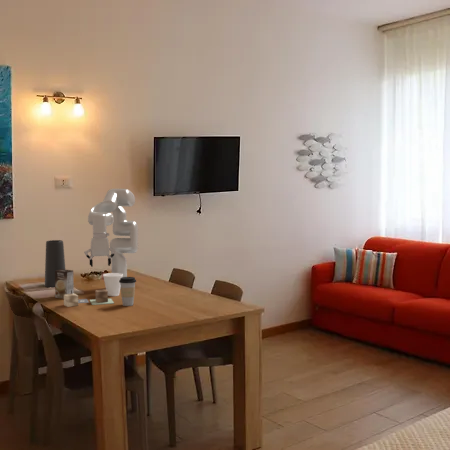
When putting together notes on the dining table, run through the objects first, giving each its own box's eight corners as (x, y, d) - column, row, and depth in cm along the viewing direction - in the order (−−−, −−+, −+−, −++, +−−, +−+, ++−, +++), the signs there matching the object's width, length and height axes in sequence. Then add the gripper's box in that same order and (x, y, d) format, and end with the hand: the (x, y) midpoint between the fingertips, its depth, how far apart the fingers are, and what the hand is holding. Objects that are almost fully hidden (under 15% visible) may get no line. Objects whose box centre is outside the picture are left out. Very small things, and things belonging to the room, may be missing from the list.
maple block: (74, 304, 337) (74, 293, 337) (78, 306, 332) (78, 295, 332) (63, 305, 334) (63, 294, 333) (67, 307, 329) (67, 296, 328)
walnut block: (106, 299, 345) (106, 289, 344) (107, 301, 339) (107, 291, 339) (95, 300, 343) (95, 290, 343) (97, 302, 337) (96, 292, 337)
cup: (99, 296, 358) (98, 275, 357) (111, 292, 369) (110, 272, 368) (115, 297, 353) (115, 276, 352) (127, 294, 364) (127, 273, 363)
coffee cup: (122, 307, 329) (122, 280, 327) (117, 304, 337) (116, 277, 336) (139, 305, 333) (138, 278, 332) (133, 302, 341) (133, 276, 340)
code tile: (87, 299, 349) (87, 298, 349) (88, 302, 340) (88, 302, 340) (69, 300, 346) (69, 300, 346) (70, 304, 337) (70, 303, 337)
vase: (71, 284, 393) (70, 240, 390) (54, 288, 382) (53, 242, 379) (56, 282, 400) (55, 239, 398) (40, 286, 389) (38, 241, 386)
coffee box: (54, 297, 353) (54, 270, 352) (62, 295, 359) (61, 269, 357) (67, 299, 349) (66, 271, 348) (74, 297, 355) (73, 270, 354)
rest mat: (111, 299, 349) (111, 298, 349) (114, 303, 337) (114, 302, 337) (89, 300, 345) (89, 299, 345) (92, 305, 334) (92, 304, 334)
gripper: (114, 234, 345) (114, 264, 347) (83, 235, 340) (84, 265, 341) (116, 235, 338) (116, 266, 340) (84, 237, 332) (85, 267, 334)
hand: (100, 266), depth 340 cm, fingers open, 9 cm apart
